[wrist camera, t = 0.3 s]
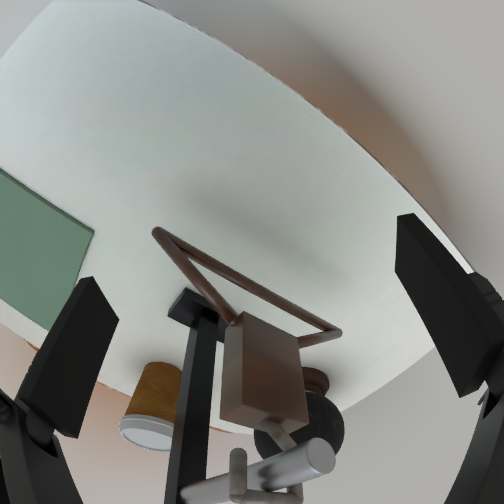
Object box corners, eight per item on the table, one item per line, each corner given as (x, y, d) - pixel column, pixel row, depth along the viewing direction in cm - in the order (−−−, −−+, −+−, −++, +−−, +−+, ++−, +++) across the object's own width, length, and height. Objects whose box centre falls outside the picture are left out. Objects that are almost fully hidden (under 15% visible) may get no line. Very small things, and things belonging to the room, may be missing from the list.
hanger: (147, 237, 24) (56, 455, 9) (160, 215, 23) (60, 446, 8) (331, 337, 31) (367, 505, 15) (348, 324, 30) (393, 496, 14)
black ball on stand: (306, 410, 50) (314, 483, 37) (239, 397, 47) (238, 479, 34) (350, 372, 44) (371, 456, 31) (278, 354, 40) (286, 455, 28)
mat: (59, 334, 39) (58, 337, 39) (-15, 283, 34) (-17, 285, 34) (94, 231, 30) (92, 234, 29) (-4, 165, 25) (-7, 167, 24)
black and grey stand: (168, 309, 36) (126, 498, 16) (249, 204, 29) (251, 469, 9) (224, 336, 38) (213, 517, 19) (312, 246, 31) (374, 478, 12)
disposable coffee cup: (141, 386, 46) (127, 447, 36) (128, 351, 41) (107, 421, 30) (196, 392, 46) (189, 457, 36) (190, 358, 41) (180, 433, 31)
